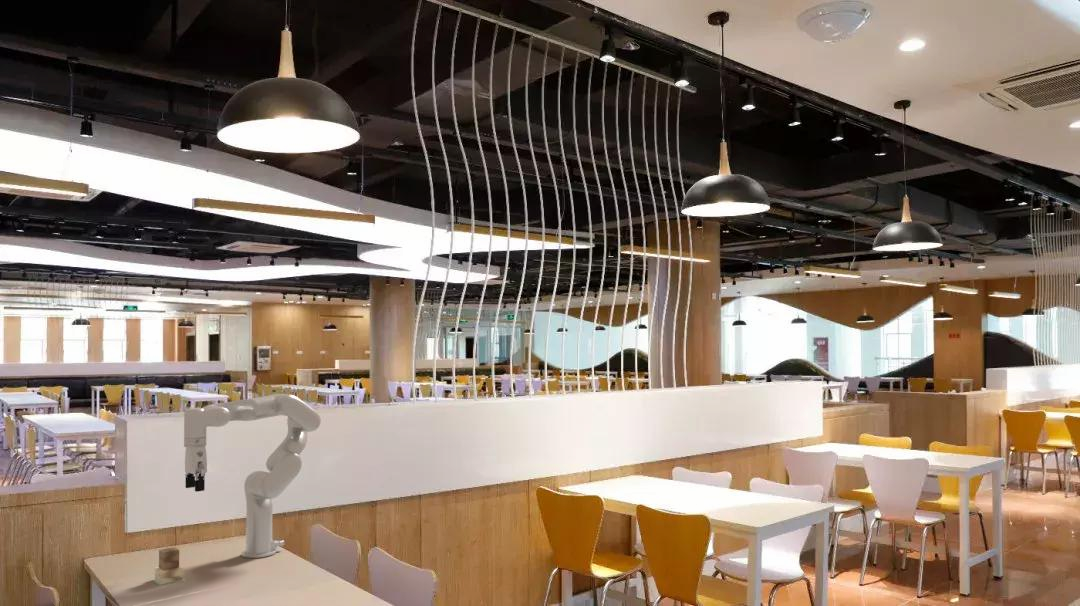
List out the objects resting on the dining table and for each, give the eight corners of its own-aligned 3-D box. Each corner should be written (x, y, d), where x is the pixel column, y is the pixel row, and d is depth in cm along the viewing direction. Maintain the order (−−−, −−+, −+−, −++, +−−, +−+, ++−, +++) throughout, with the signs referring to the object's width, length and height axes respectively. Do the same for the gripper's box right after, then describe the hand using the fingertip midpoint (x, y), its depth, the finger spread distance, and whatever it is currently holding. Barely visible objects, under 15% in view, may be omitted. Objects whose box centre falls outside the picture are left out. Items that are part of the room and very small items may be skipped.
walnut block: (174, 564, 269) (174, 547, 270) (179, 567, 266) (179, 549, 266) (158, 567, 266) (159, 549, 266) (163, 570, 262) (163, 552, 263)
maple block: (176, 575, 271) (176, 563, 271) (182, 579, 265) (183, 567, 266) (154, 579, 266) (154, 567, 266) (161, 583, 261) (161, 571, 261)
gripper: (214, 443, 280) (214, 490, 279) (197, 439, 293) (197, 484, 292) (192, 445, 275) (192, 493, 274) (176, 441, 288) (176, 487, 287)
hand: (194, 489), depth 283 cm, fingers open, 9 cm apart
